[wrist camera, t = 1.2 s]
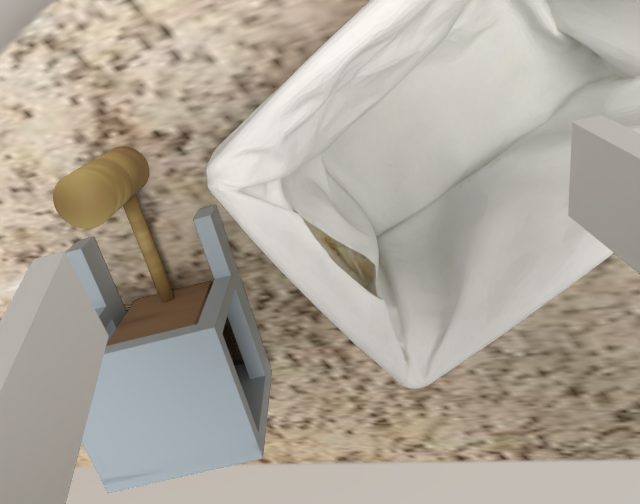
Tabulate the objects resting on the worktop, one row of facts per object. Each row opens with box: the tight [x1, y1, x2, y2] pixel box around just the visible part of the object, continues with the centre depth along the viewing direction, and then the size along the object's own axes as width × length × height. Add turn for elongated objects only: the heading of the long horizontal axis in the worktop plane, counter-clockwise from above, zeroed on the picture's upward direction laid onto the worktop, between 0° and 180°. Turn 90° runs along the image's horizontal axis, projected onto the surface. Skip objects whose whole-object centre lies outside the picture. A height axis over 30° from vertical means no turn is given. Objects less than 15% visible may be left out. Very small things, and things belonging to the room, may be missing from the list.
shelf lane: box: [65, 205, 272, 493], centre depth 38 cm, size 14×10×10 cm
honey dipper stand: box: [53, 147, 235, 361], centre depth 37 cm, size 17×6×8 cm, turn 14°
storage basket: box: [206, 0, 640, 389], centre depth 31 cm, size 24×16×15 cm
